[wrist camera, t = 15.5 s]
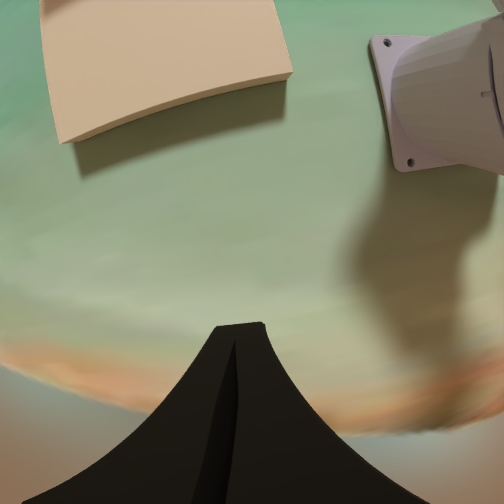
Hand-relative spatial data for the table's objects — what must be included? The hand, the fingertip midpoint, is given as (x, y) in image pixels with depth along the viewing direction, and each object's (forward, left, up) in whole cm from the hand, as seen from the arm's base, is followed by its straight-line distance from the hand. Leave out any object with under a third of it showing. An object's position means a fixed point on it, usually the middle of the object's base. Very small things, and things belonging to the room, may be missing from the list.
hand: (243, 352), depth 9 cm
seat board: (+2, -18, -10) cm, 21 cm away
